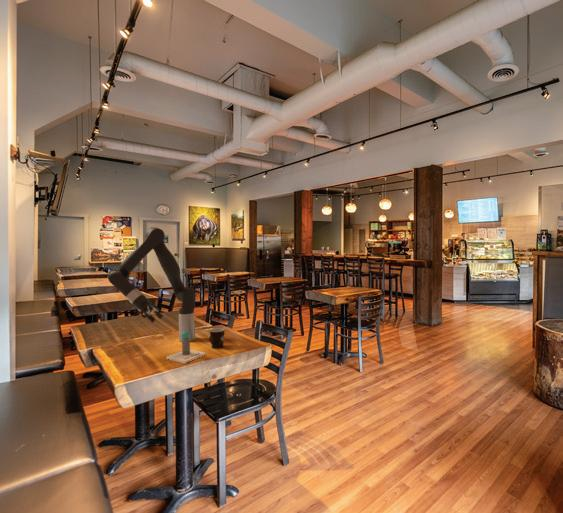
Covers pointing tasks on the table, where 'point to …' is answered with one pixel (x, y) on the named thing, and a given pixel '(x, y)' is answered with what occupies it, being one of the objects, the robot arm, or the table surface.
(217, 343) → the coffee mug
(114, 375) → the table surface
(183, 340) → the marker
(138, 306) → the robot arm
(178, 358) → the notepad
